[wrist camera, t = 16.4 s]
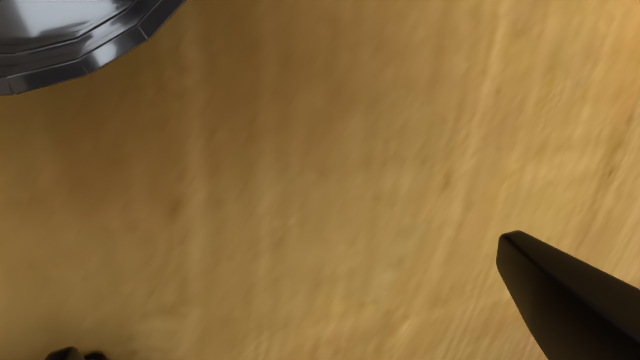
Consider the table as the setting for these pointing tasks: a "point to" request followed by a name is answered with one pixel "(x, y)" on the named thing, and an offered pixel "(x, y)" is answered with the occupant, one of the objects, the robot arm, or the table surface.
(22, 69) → the pan
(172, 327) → the table surface
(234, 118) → the table surface
